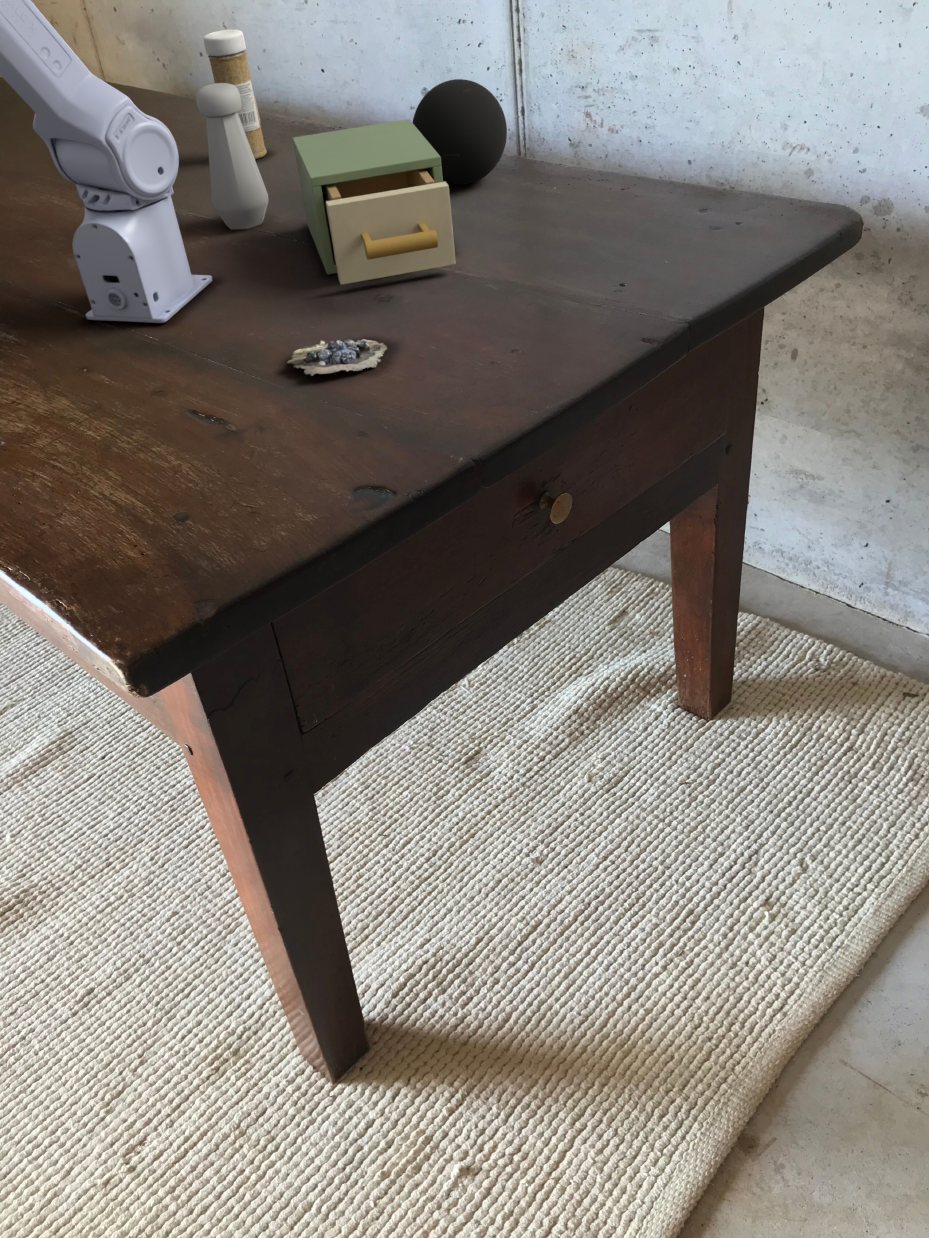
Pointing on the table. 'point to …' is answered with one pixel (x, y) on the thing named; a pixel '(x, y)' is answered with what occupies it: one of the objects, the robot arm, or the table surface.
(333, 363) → the blueberries
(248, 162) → the salt shaker
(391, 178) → the drawer
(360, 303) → the table surface
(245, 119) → the sprinkles bottle
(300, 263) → the table surface
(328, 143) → the cabinet
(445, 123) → the black sphere
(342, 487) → the table surface
